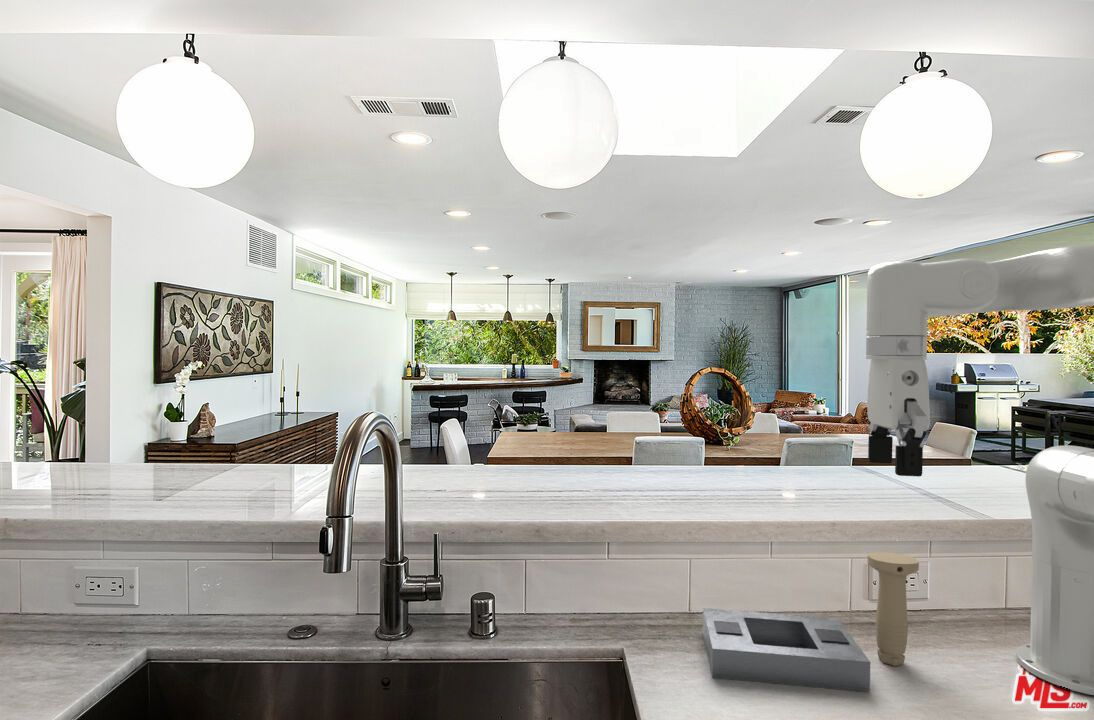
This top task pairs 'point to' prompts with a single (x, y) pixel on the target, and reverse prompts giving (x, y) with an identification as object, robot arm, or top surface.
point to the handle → (892, 604)
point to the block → (784, 650)
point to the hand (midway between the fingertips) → (893, 468)
